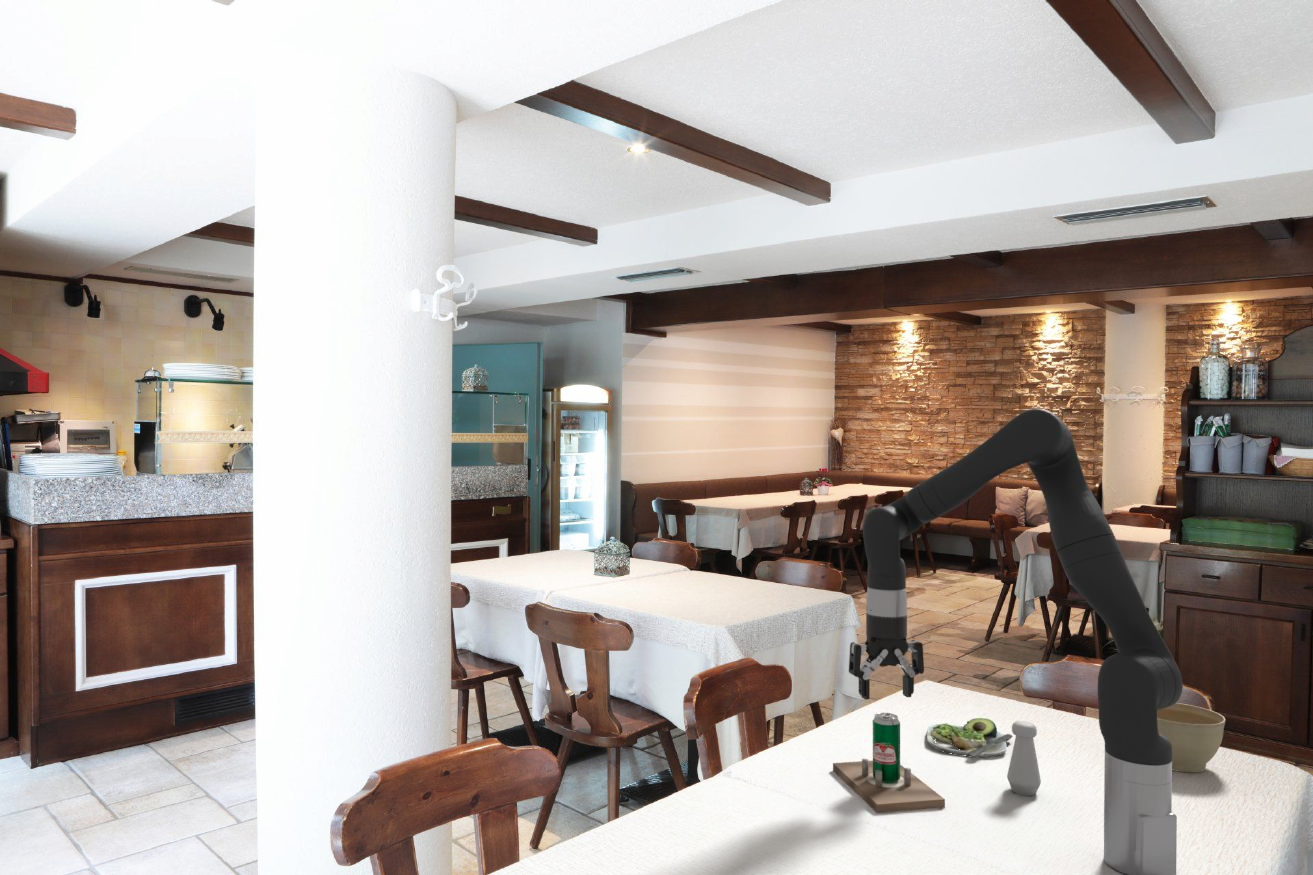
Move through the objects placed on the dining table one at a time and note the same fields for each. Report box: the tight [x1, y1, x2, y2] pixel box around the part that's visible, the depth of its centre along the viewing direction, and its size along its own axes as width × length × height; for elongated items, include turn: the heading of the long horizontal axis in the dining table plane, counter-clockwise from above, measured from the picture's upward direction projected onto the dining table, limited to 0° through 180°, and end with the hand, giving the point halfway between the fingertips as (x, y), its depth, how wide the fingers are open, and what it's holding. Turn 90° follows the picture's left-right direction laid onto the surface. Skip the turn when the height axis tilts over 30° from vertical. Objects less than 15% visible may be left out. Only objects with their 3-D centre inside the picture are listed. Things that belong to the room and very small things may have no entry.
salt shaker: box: [1006, 720, 1042, 797], centre depth 164 cm, size 6×6×13 cm
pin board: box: [832, 758, 946, 814], centre depth 165 cm, size 20×13×4 cm, turn 11°
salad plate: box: [926, 717, 1013, 758], centre depth 189 cm, size 19×18×5 cm
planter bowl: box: [1157, 702, 1226, 773], centre depth 179 cm, size 16×16×11 cm
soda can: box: [872, 712, 901, 783], centre depth 165 cm, size 5×5×12 cm
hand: (886, 697), depth 165 cm, fingers open, 8 cm apart
